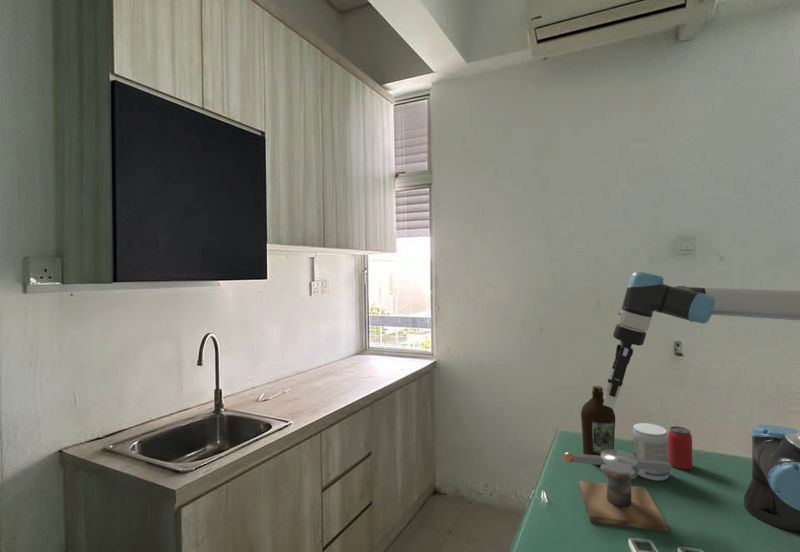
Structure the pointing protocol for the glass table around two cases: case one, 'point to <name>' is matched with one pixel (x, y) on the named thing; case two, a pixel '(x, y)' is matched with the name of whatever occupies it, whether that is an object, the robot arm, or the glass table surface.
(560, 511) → the glass table surface
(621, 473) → the disc with handle bar
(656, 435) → the supplement tub
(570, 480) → the glass table surface
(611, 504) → the square wooden board
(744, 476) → the glass table surface
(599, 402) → the olive oil
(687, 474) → the glass table surface
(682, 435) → the beer can
